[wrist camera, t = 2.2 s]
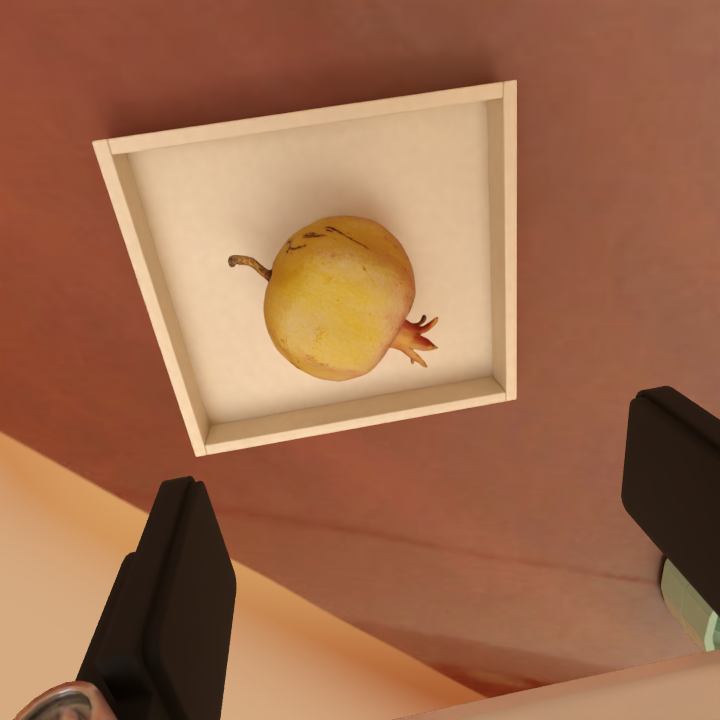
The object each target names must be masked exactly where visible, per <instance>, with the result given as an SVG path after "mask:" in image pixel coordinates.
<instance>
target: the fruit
mask: <svg viewBox="0 0 720 720" xmlns="http://www.w3.org/2000/svg"><path fill="white" fill-rule="evenodd" d="M228 264H229V266H230V267H235V265H236V264H238V265H247V266H250V267H252V268H253V269H254V270H256V271H257V272H258V273H259V274H260V275H261V276H262V277H264V278H265V279H266V280H267V281H268V285H267V288H266V291H265V298H264V306H263V312H264V319H265V324H266V328H267V331H268V334H269V336H270V338H271V340H272V342H273V344H274V346H275V347H276V349H277V350H278V352H279V353H280V354H281V355H282V356H283V357H285V358H286V359H287V360H288V361H289V362H290V363H291V364H292V365H294V366H295V367H296V368H297V369H299V370H301V371H303V372H305V373H307V374H309V375H311V376H313V377H316V378H319V379H323V380H329V381H336V382H340V381H346V380H350V379H353V378H357V377H360V376H363V375H365V374H367V373H369V372H371V371H372V370H373V369H374V368H375V366H376V365H377V364H378V363H379V362H380V361H381V359H382V358H383V357H384V355H385V354H386V352H387V351H388V349H389V348H394V349H397V350H400V351H402V352H403V353H404V354H406V355H407V356H408V357H409V358H410V359H411V363H412V364H414V362H415V361H416V362H418V363H419V364H420V365H422V366H423V367H427V365H426V363H425V361H424V360H422V358H421V357H420V356H419V355H418V354H417V353H416V352H414V351H413V350H414V349H416V350H420V351H431V350H435V349H438V347H437V346H435V345H434V344H433V343H432V342H431V341H430V340H429V339H427V338H426V337H423V336H421V334H423V333H426V332H427V331H429V330H430V329H431V328H432V327H433V326H434V325H435V324H436V323H437V322H438V317H436V318H434V319H433V320H431V321H430V322H428V323H427V324H426V325H424V326H421V325H422V324H423V323H424V322H425V321H426V319H427V317H426V315H423V316H422V318H421V320H420V321H419V322H418V323H411V322H409V321H408V320H406V318H407V316H408V314H409V312H410V310H411V308H412V305H413V302H414V299H415V294H416V288H415V278H414V272H413V269H412V265H411V262H410V260H409V257H408V255H407V254H406V252H405V250H404V248H403V246H402V244H401V243H400V242H399V241H398V239H397V238H396V237H395V236H394V235H393V234H392V233H391V232H389V231H388V230H387V229H386V228H385V227H383V226H382V225H380V224H379V223H377V222H375V221H373V220H371V219H366V218H362V217H356V216H345V215H344V216H330V217H325V218H321V219H319V220H317V221H315V222H313V223H312V224H310V225H308V226H306V227H304V228H302V229H300V230H298V231H297V232H296V233H294V234H293V235H292V236H291V237H290V238H289V239H288V240H287V241H286V243H285V244H284V245H283V247H282V248H281V249H280V251H279V253H278V254H277V256H276V258H275V260H274V262H273V266H272V269H271V270H268V269H266V268H265V267H264V266H262V265H261V264H260V263H259V262H258V261H256V260H255V259H254V258H252V257H248V256H242V255H232V256H230V257H229V258H228Z"/></svg>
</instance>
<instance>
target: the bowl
mask: <svg viewBox="0 0 720 720" xmlns="http://www.w3.org/2000/svg"><path fill="white" fill-rule="evenodd" d="M661 590H662V593H663V597H664V600H665V603H666V606H667V608H668V609H669V610H670V612H671V613H672V614H673V616H674V617H675V618H676V619H677V621H678V622H679V623H680V625H681V626H682V627H683V628H684V630H685V631H686V632H687V634H688V635H689V636H690V638H691V639H692V640H693V641H694V643H695V644H696V645H697V647H698V648H699V649H700V650H701V652H702V653H703V652H708V651H713V650H717V649H720V617H719V616H718V615H717V614H716V613H715V612H714V611H713V609H712V608H711V607H710V606H709V605H708V604H707V603H706V601H705V600H704V599H703V598H702V597H701V596H700V595H699V593H698V592H697V591H696V590H695V589H694V588H693V587H692V585H691V584H690V583H689V582H688V581H687V580H686V579H685V577H684V576H683V575H682V574H681V573H680V572H679V571H678V570H677V568H676V567H675V566H674V565H673V564H672V563H671V562H670V560H669V559H668V558H667V560H666V561H665V564H664V570H663V575H662V581H661Z"/></svg>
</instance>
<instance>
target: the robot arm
mask: <svg viewBox="0 0 720 720" xmlns="http://www.w3.org/2000/svg"><path fill="white" fill-rule="evenodd" d="M621 498H622V502H623V505H624V507H625V509H626V511H627V512H628V514H629V515H630V516H631V517H632V518H633V519H634V520H635V522H636V523H637V524H638V525H639V526H640V527H641V528H642V530H643V531H644V532H645V533H646V534H647V535H648V536H649V538H650V539H651V540H652V541H653V542H654V543H655V544H656V546H657V547H658V548H659V549H660V550H661V551H662V552H663V554H664V555H665V556H666V557H667V558H668V559H669V560H670V562H671V563H672V564H673V565H674V566H675V567H676V568H677V570H678V571H679V572H680V573H681V574H682V575H683V576H684V577H685V579H686V580H687V581H688V582H689V583H690V584H691V585H692V587H693V588H694V589H695V590H696V591H697V592H698V593H699V595H700V596H701V597H702V598H703V599H704V600H705V601H706V603H707V604H708V605H709V606H710V607H711V608H712V609H713V611H714V612H715V613H716V614H717V615H718V616H719V617H720V420H719V419H718V418H716V417H715V416H713V415H712V414H710V413H709V412H707V411H706V410H704V409H703V408H702V407H700V406H699V405H697V404H696V403H694V402H693V401H691V400H690V399H688V398H687V397H685V396H684V395H682V394H681V393H679V392H678V391H676V390H675V389H673V388H672V387H669V386H662V387H657V388H652V389H647V390H641V391H640V392H638V394H637V395H636V398H635V399H633V400H632V401H631V402H630V407H629V418H628V429H627V439H626V450H625V461H624V471H623V482H622V493H621ZM235 597H236V577H235V572H234V569H233V566H232V563H231V561H230V558H229V555H228V552H227V549H226V546H225V543H224V540H223V537H222V534H221V531H220V528H219V525H218V522H217V519H216V516H215V514H214V511H213V508H212V505H211V502H210V499H209V496H208V493H207V490H206V487H205V485H204V483H203V482H202V481H198V482H195V480H194V478H193V477H191V476H187V477H182V478H177V479H172V480H166V481H163V482H162V484H161V486H160V488H159V491H158V494H157V496H156V499H155V502H154V504H153V507H152V510H151V512H150V515H149V518H148V520H147V523H146V526H145V528H144V531H143V534H142V536H141V539H140V542H139V545H138V547H137V550H136V552H132V553H129V554H128V555H127V556H126V557H125V559H124V561H123V562H122V565H121V567H120V570H119V572H118V575H117V577H116V580H115V582H114V585H113V587H112V590H111V592H110V595H109V597H108V600H107V602H106V605H105V607H104V610H103V612H102V615H101V618H100V620H99V623H98V625H97V627H96V630H95V633H94V635H93V638H92V640H91V643H90V645H89V648H88V650H87V653H86V655H85V658H84V660H83V663H82V665H81V668H80V670H79V673H78V675H77V678H76V680H75V681H74V682H66V683H64V684H61V685H58V686H56V687H53V688H51V689H49V690H48V691H46V692H44V693H43V694H41V695H40V696H38V697H37V698H35V699H34V700H33V701H31V702H30V703H29V704H28V705H27V706H26V707H25V708H24V709H23V710H21V711H20V712H19V713H18V714H17V716H16V717H15V718H14V719H13V720H220V717H221V709H222V700H223V693H224V685H225V677H226V669H227V661H228V653H229V645H230V636H231V629H232V620H233V612H234V605H235ZM394 720H720V649H717V650H713V651H708V652H703V653H698V654H694V655H689V656H684V657H679V658H675V659H670V660H665V661H660V662H656V663H651V664H646V665H641V666H637V667H632V668H627V669H623V670H618V671H613V672H609V673H604V674H599V675H595V676H590V677H585V678H581V679H576V680H572V681H567V682H562V683H558V684H553V685H548V686H544V687H539V688H535V689H530V690H525V691H521V692H516V693H512V694H507V695H502V696H498V697H493V698H489V699H484V700H479V701H475V702H470V703H466V704H462V705H457V706H452V707H448V708H443V709H439V710H434V711H430V712H425V713H421V714H416V715H412V716H407V717H403V718H398V719H394Z"/></svg>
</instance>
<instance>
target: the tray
mask: <svg viewBox="0 0 720 720" xmlns="http://www.w3.org/2000/svg"><path fill="white" fill-rule="evenodd" d="M92 144H93V147H94V150H95V153H96V156H97V159H98V162H99V165H100V168H101V172H102V175H103V178H104V181H105V184H106V187H107V190H108V193H109V196H110V199H111V202H112V205H113V208H114V211H115V214H116V217H117V220H118V223H119V226H120V229H121V232H122V235H123V238H124V241H125V244H126V247H127V250H128V253H129V256H130V259H131V262H132V265H133V268H134V271H135V274H136V277H137V280H138V283H139V286H140V289H141V292H142V295H143V298H144V301H145V304H146V307H147V310H148V313H149V316H150V319H151V322H152V325H153V328H154V331H155V334H156V337H157V341H158V344H159V347H160V350H161V353H162V356H163V359H164V362H165V365H166V368H167V371H168V374H169V377H170V380H171V383H172V386H173V389H174V392H175V395H176V398H177V401H178V404H179V407H180V410H181V413H182V416H183V419H184V422H185V425H186V428H187V431H188V434H189V437H190V440H191V443H192V446H193V449H194V452H195V455H196V457H198V456H204V455H207V454H214V453H220V452H226V451H231V450H237V449H242V448H248V447H253V446H259V445H264V444H270V443H276V442H281V441H287V440H292V439H298V438H303V437H309V436H315V435H320V434H326V433H331V432H337V431H342V430H348V429H354V428H359V427H365V426H370V425H376V424H381V423H387V422H393V421H398V420H404V419H409V418H415V417H420V416H426V415H432V414H437V413H443V412H448V411H454V410H459V409H465V408H471V407H476V406H482V405H487V404H493V403H498V402H504V401H510V400H515V399H516V366H517V80H510V81H504V82H496V83H489V84H483V85H476V86H469V87H462V88H455V89H448V90H441V91H434V92H427V93H420V94H414V95H407V96H400V97H393V98H386V99H379V100H372V101H365V102H358V103H351V104H345V105H338V106H331V107H324V108H317V109H310V110H303V111H296V112H289V113H282V114H276V115H269V116H262V117H255V118H248V119H241V120H234V121H227V122H220V123H213V124H207V125H200V126H193V127H186V128H179V129H172V130H165V131H158V132H151V133H144V134H138V135H131V136H124V137H117V138H110V139H103V140H96V141H92ZM344 215H345V216H356V217H362V218H366V219H371V220H373V221H375V222H377V223H379V224H380V225H382V226H383V227H385V228H386V229H387V230H388V231H389V232H391V233H392V234H393V235H394V236H395V237H396V238H397V239H398V241H399V242H400V243H401V244H402V246H403V248H404V250H405V252H406V254H407V255H408V257H409V260H410V262H411V265H412V269H413V272H414V278H415V288H416V294H415V299H414V302H413V305H412V308H411V310H410V312H409V314H408V316H407V318H406V320H408V321H409V322H411V323H418V322H419V321H420V320H421V318H422V316H423V315H426V317H427V319H426V321H425V322H424V323H423V324H422V325H421V326H424V325H426V324H427V323H428V322H430V321H431V320H433V319H434V318H436V317H438V322H437V323H436V324H435V325H434V326H433V327H432V328H431V329H430V330H429V331H427V332H426V333H423V334H421V336H423V337H426V338H427V339H429V340H430V341H431V342H432V343H433V344H434V345H435V346H437V347H438V349H435V350H431V351H420V350H416V349H414V350H413V351H414V352H416V353H417V354H418V355H419V356H420V357H421V358H422V360H424V361H425V363H426V365H427V367H423V366H422V365H420V364H419V363H418V362H416V361H415V362H414V364H412V363H411V359H410V358H409V357H408V356H407V355H406V354H404V353H403V352H402V351H400V350H397V349H394V348H389V349H388V351H387V352H386V354H385V355H384V357H383V358H382V359H381V361H380V362H379V363H378V364H377V365H376V366H375V368H374V369H373V370H372V371H371V372H369V373H367V374H365V375H363V376H360V377H357V378H353V379H350V380H346V381H340V382H336V381H329V380H323V379H319V378H316V377H313V376H311V375H309V374H307V373H305V372H303V371H301V370H299V369H297V368H296V367H295V366H294V365H292V364H291V363H290V362H289V361H288V360H287V359H286V358H285V357H283V356H282V355H281V354H280V353H279V352H278V350H277V349H276V347H275V346H274V344H273V342H272V340H271V338H270V336H269V334H268V331H267V328H266V324H265V319H264V312H263V306H264V298H265V291H266V288H267V285H268V281H267V280H266V279H265V278H264V277H262V276H261V275H260V274H259V273H258V272H257V271H256V270H254V269H253V268H252V267H250V266H247V265H238V264H236V265H235V267H230V266H229V264H228V258H229V257H230V256H232V255H242V256H248V257H252V258H254V259H255V260H256V261H258V262H259V263H260V264H261V265H262V266H264V267H265V268H266V269H268V270H271V269H272V266H273V262H274V260H275V258H276V256H277V254H278V253H279V251H280V249H281V248H282V247H283V245H284V244H285V243H286V241H287V240H288V239H289V238H290V237H291V236H292V235H293V234H294V233H296V232H297V231H298V230H300V229H302V228H304V227H306V226H308V225H310V224H312V223H313V222H315V221H317V220H319V219H321V218H325V217H330V216H344Z"/></svg>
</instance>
